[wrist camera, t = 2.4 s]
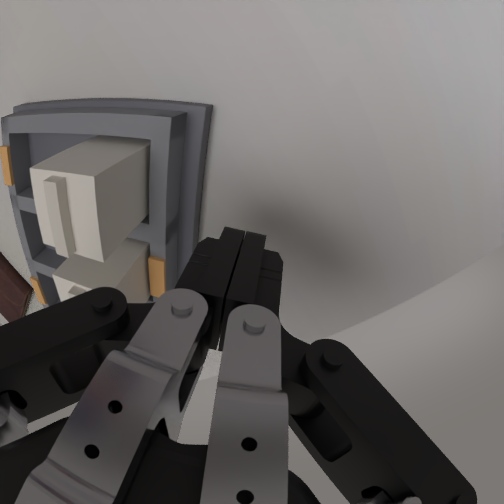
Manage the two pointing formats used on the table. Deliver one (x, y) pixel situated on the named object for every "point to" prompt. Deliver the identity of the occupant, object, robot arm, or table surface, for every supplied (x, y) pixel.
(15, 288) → the notebook
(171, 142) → the switch bank
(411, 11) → the table surface
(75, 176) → the white ridged block
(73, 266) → the white rectangular block
